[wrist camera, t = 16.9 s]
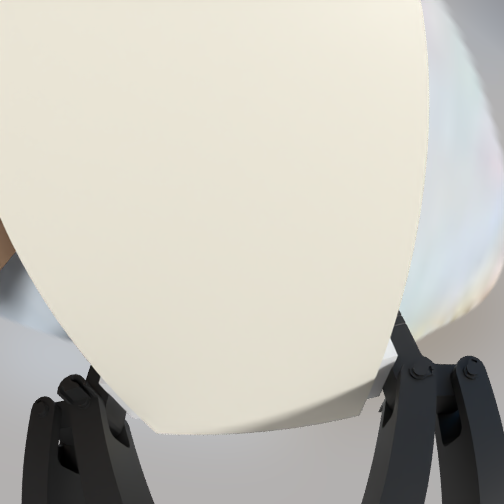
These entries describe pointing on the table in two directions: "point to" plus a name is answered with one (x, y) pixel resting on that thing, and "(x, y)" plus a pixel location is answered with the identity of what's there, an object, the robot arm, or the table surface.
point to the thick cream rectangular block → (218, 195)
